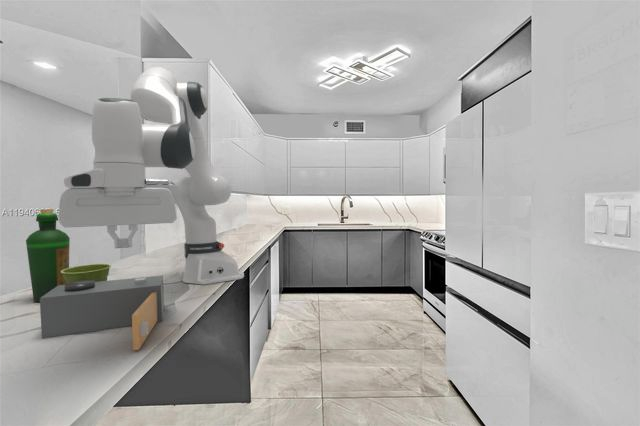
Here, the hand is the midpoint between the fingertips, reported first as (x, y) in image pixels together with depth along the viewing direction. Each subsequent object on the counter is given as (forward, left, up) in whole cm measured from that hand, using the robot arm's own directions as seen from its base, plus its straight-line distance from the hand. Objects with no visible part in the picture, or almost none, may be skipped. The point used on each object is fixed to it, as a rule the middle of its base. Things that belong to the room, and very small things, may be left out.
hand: (123, 247), depth 67 cm
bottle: (+27, -50, -21) cm, 61 cm away
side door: (-4, -5, -20) cm, 21 cm away
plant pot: (+14, -35, -21) cm, 43 cm away
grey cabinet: (+6, -19, -21) cm, 29 cm away
